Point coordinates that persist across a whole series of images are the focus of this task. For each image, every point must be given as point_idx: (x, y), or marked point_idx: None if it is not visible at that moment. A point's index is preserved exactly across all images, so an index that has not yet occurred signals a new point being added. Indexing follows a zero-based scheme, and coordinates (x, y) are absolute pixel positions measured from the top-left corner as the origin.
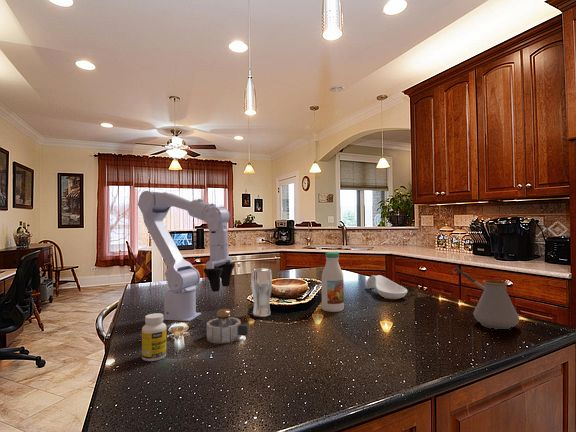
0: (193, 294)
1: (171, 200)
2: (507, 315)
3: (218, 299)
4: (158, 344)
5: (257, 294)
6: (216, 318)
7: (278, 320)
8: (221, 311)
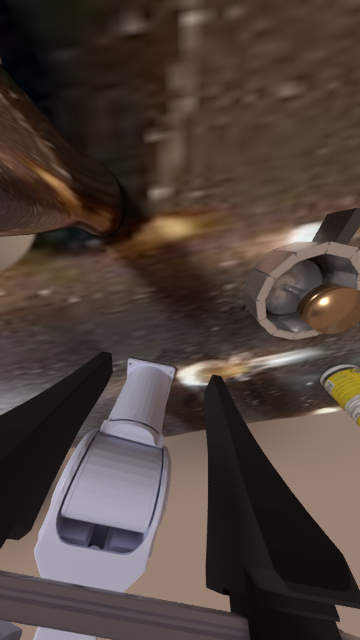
0: (140, 411)
1: None
2: None
3: (15, 345)
4: None
5: (71, 189)
6: (262, 323)
7: (154, 100)
8: (343, 319)
